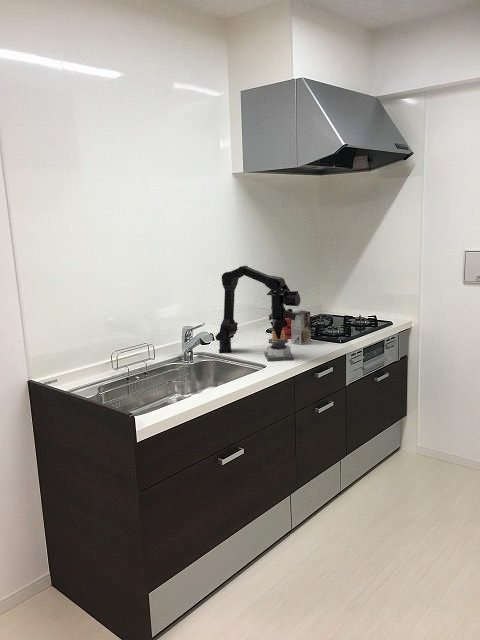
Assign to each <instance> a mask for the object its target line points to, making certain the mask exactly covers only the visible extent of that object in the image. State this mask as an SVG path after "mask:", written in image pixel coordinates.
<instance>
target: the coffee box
mask: <svg viewBox="0 0 480 640" xmlns="http://www.w3.org/2000/svg"><path fill="white" fill-rule="evenodd" d="M293 312H294V311H293ZM294 313H296V314H297V315H296V318H295V320H292V319H291V332H292V339H291V344H293V345H298V346H303V345H305V344H308V343H311V342H312V340H311V337H312V336H311V311H307V310H298V311H295V312H294Z"/></svg>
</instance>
